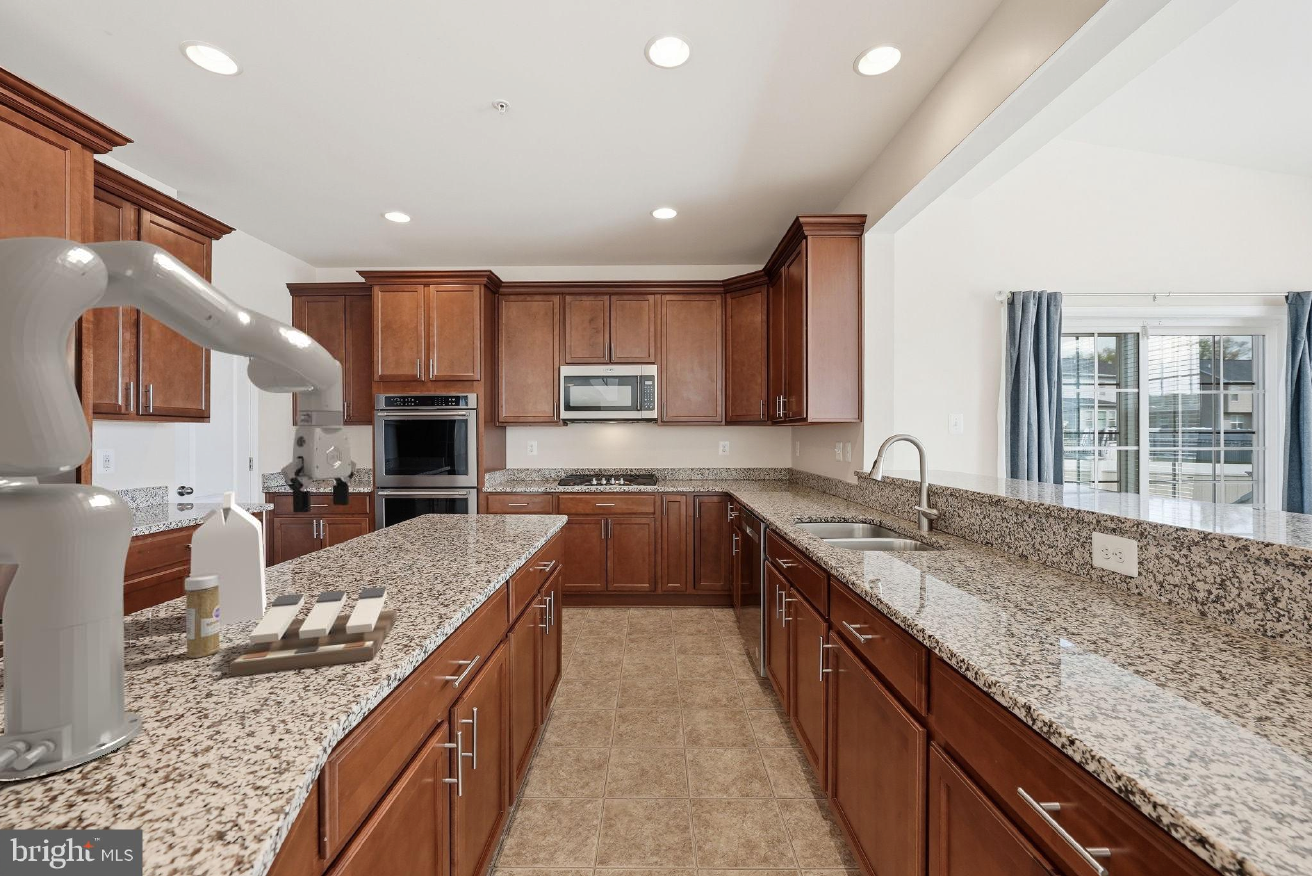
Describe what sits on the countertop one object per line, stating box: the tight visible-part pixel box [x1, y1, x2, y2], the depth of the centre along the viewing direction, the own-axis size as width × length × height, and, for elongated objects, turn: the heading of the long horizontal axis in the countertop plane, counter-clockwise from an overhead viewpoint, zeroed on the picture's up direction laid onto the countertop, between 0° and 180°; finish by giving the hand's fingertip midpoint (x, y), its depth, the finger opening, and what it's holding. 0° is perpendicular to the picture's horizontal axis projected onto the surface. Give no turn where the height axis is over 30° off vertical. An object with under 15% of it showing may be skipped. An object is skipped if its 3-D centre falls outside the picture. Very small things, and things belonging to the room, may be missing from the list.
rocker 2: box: [346, 586, 388, 634], centre depth 95 cm, size 12×4×2 cm, turn 16°
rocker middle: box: [299, 590, 347, 639], centre depth 93 cm, size 12×4×2 cm, turn 16°
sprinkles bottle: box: [184, 573, 221, 659], centre depth 90 cm, size 5×5×14 cm
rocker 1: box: [249, 593, 305, 645], centre depth 91 cm, size 12×4×2 cm, turn 16°
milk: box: [189, 491, 267, 627], centre depth 109 cm, size 12×12×26 cm
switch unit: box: [229, 609, 398, 677], centre depth 93 cm, size 20×20×4 cm
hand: (322, 508), depth 102 cm, fingers open, 9 cm apart
